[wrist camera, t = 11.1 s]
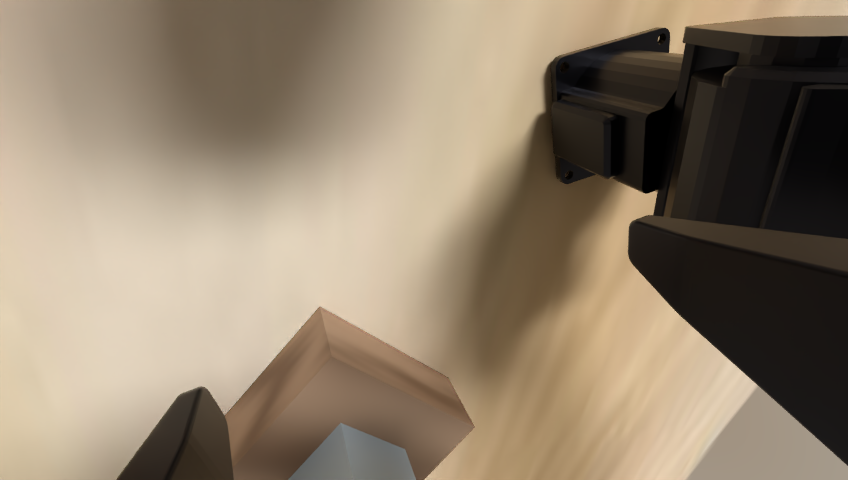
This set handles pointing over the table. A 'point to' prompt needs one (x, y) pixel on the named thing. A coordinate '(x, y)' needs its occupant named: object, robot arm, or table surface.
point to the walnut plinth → (342, 402)
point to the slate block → (355, 459)
